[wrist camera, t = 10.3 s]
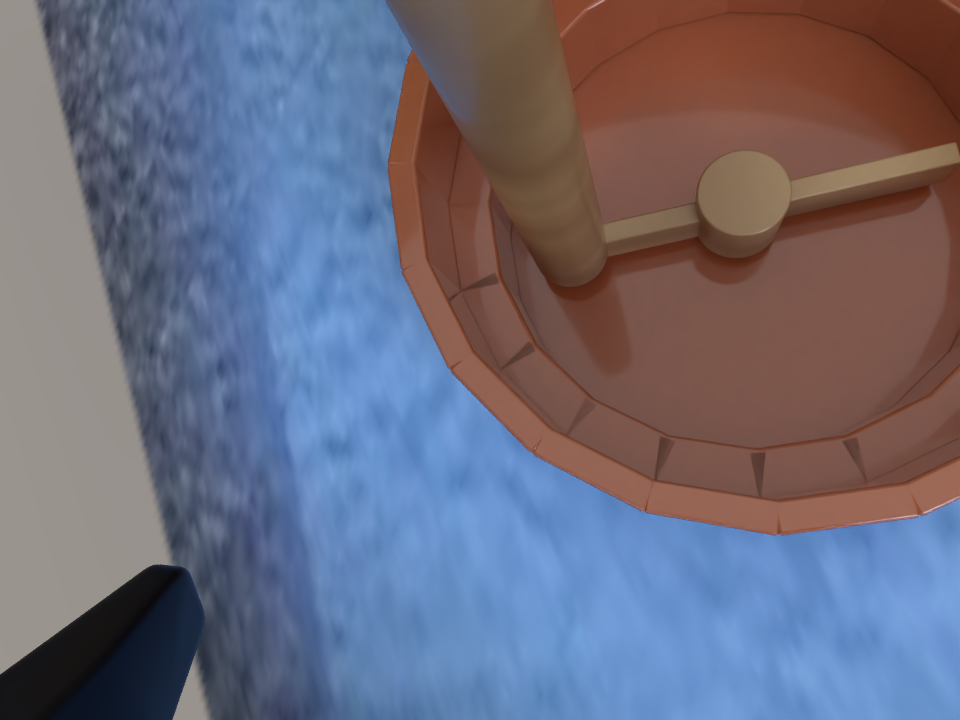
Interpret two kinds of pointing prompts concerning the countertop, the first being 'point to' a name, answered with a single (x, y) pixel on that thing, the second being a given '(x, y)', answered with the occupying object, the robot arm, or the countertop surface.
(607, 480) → the bowl
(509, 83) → the stirrer
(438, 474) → the countertop surface
